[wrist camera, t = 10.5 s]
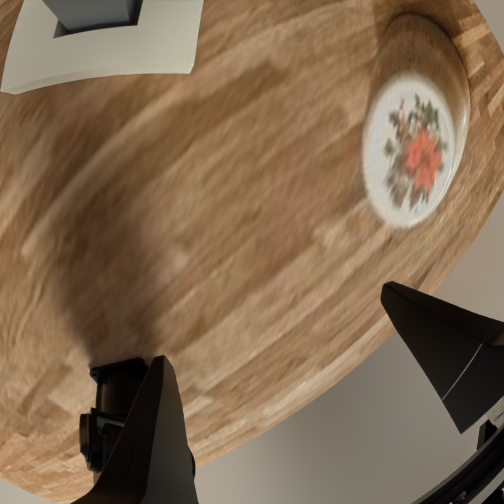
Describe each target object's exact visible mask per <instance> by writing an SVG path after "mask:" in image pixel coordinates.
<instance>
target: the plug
mask: <svg viewBox="0 0 504 504" xmlns="http://www.w3.org/2000/svg"><path fill="white" fill-rule="evenodd" d="M42 1H43V2H44V3H45V4H46V5H47V7H48V8H49V9H50V10H51V11H52V12H53V14H54V15H55V16H56V17H57V18H58V19H59V20H60V22H61V23H62V24H63V25H64V26H65V27H66V28H67V30H68V31H69V32H70V33H71V34H76V33H81V32H86V31H92V30H99V29H106V28H115V27H125V26H132V24H133V20H134V15H135V11H136V7H137V3H138V0H42Z"/></svg>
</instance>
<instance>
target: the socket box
mask: <svg viewBox="0 0 504 504" xmlns="http://www.w3.org/2000/svg"><path fill="white" fill-rule="evenodd" d="M203 1H204V0H138V3H137V7H136V11H135V15H134V20H133V24H132V26H125V27H115V28H106V29H99V30H92V31H86V32H81V33H76V34H71V33H70V32H69V31H68V30H67V28H66V27H65V26H64V25H63V24H62V23H61V22H60V20H59V19H58V18H57V17H56V16H55V15H54V14H53V12H52V11H51V10H50V9H49V8H48V7H47V5H46V4H45V3H44V2H43V1H42V0H24V3H23V5H22V8H21V11H20V13H19V16H18V19H17V22H16V25H15V28H14V31H13V35H12V38H11V42H10V46H9V49H8V54H7V58H6V62H5V67H4V72H3V78H2V84H1V90H0V92H5V93H10V94H14V95H16V94H20V93H23V92H27V91H30V90H34V89H38V88H42V87H46V86H51V85H55V84H60V83H65V82H71V81H76V80H83V79H89V78H97V77H105V76H115V75H128V74H148V73H186V74H190V72H191V70H192V68H193V66H194V61H195V53H196V45H197V38H198V31H199V25H200V19H201V13H202V7H203Z"/></svg>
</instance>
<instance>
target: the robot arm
mask: <svg viewBox="0 0 504 504" xmlns="http://www.w3.org/2000/svg"><path fill="white" fill-rule="evenodd" d="M380 299H381V303H382V305H383V307H384V309H385V311H386V312H387V314H388V316H389V318H390V319H391V321H392V323H393V325H394V327H395V328H396V330H397V332H398V333H399V335H400V336H401V338H402V339H403V341H404V342H405V343H406V344H407V346H408V348H409V349H410V351H411V352H412V354H413V355H414V357H415V359H416V360H417V362H418V363H419V365H420V366H421V368H422V369H423V371H424V372H425V374H426V376H427V377H428V379H429V380H430V382H431V383H432V385H433V387H434V388H435V390H436V392H437V393H438V395H439V397H440V398H441V400H442V402H443V404H444V405H445V407H446V409H447V411H448V412H449V414H450V416H451V418H452V419H453V421H454V423H455V425H456V427H457V428H458V430H459V432H460V433H461V434H463V433H464V432H465V431H466V430H467V429H469V428H470V427H471V426H472V425H474V424H475V423H476V422H477V421H478V420H479V419H480V418H482V417H483V416H484V415H485V414H486V416H487V417H488V419H487V420H486V421H485V422H484V423H483V424H482V425H481V426H480V430H479V437H478V444H477V452H476V453H475V454H473V456H471V457H470V458H469V459H468V460H467V461H466V462H465V463H464V464H463V465H461V466H460V467H459V468H458V469H457V470H456V471H454V472H453V473H452V474H451V475H450V476H448V477H447V478H446V479H445V480H443V481H442V482H441V483H440V484H438V485H437V486H436V487H434V488H433V489H432V490H430V491H429V492H427V493H426V494H425V495H423V496H422V497H420V498H419V499H417V500H416V501H414V502H413V503H411V504H449V503H450V502H452V504H504V492H503V491H502V488H504V322H501V321H498V320H495V319H491V318H488V317H485V316H482V315H479V314H476V313H473V312H471V311H468V310H466V309H463V308H460V307H458V306H456V305H453V304H450V303H448V302H446V301H443V300H441V299H438V298H435V297H433V296H430V295H428V294H425V293H423V292H420V291H417V290H415V289H412V288H410V287H407V286H404V285H402V284H399V283H396V282H394V281H389V282H387V283H385V284H384V285H383V287H382V292H381V298H380ZM138 362H140V363H138ZM94 373H95V374H94ZM90 376H91V377H92V378H93V379H94V381H95V382H96V383H97V393H96V406H95V408H92V407H91V409H90V412H89V413H87V414H81V415H80V424H79V443H80V452H81V453H82V454H83V455H84V457H85V461H86V463H87V468H88V470H90V471H93V475H94V487H93V488H92V489H91V490H90V491H89V492H88V493H87V494H86V495H84V496H82V497H81V498H79V499H78V500H76V501H74V502H72V503H71V504H199V503H198V499H197V495H196V489H195V485H194V477H195V461H194V457H193V455H192V453H191V451H190V449H189V447H188V444H187V437H186V430H185V422H184V414H183V407H182V402H181V398H180V394H179V390H178V385H177V381H176V376H175V371H174V369H173V367H172V365H171V364H170V362H169V360H168V359H167V357H166V356H165V355H161V356H157V357H155V358H154V359H153V361H152V363H151V365H150V367H148V366H147V364H146V363H145V361H144V360H143V359H142V358H135V359H131V360H127V361H123V362H119V363H115V364H111V365H107V366H103V367H99V368H94V369H91V370H90Z"/></svg>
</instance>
